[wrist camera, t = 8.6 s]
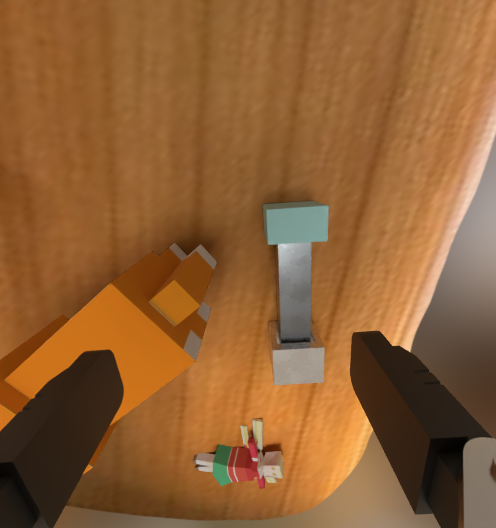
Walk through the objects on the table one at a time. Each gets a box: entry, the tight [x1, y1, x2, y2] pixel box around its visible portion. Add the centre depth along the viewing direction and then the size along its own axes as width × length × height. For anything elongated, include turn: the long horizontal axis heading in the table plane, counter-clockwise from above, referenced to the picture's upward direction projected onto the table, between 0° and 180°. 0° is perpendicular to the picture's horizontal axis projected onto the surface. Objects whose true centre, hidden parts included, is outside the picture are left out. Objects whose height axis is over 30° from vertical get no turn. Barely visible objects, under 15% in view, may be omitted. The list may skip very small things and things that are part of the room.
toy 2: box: [193, 418, 284, 489], centre depth 43 cm, size 15×4×15 cm
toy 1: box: [0, 243, 217, 474], centre depth 26 cm, size 10×30×20 cm, turn 130°
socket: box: [263, 201, 329, 245], centre depth 28 cm, size 4×6×6 cm, turn 94°
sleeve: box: [268, 319, 324, 385], centre depth 34 cm, size 5×6×6 cm
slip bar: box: [275, 242, 312, 344], centre depth 31 cm, size 16×4×4 cm, turn 4°
